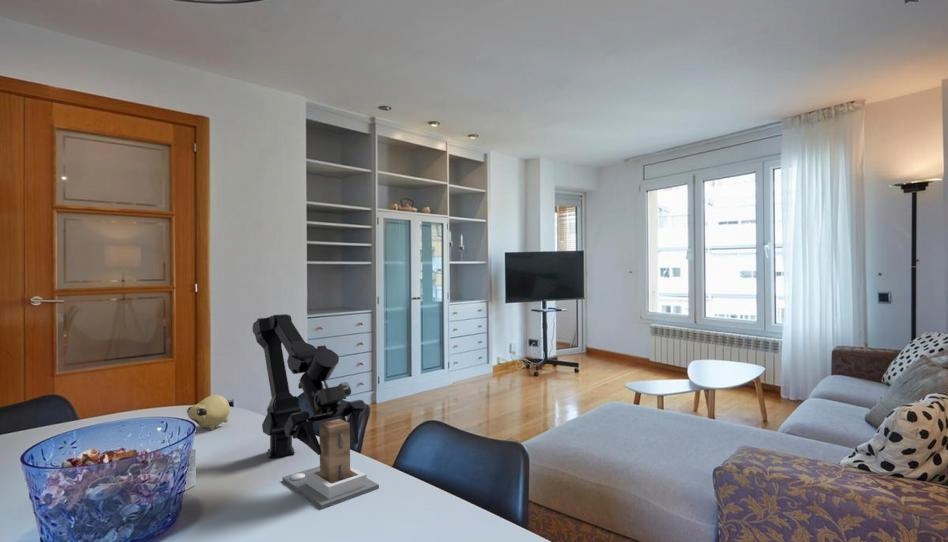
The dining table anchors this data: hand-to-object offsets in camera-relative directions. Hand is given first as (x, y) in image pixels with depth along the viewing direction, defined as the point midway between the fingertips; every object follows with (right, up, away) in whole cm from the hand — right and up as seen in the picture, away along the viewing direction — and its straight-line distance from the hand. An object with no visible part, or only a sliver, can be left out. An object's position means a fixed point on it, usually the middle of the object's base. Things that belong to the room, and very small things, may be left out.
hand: (339, 448), depth 106 cm
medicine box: (-38, -10, +1) cm, 40 cm away
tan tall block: (-1, -9, +1) cm, 9 cm away
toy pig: (-56, -11, +46) cm, 73 cm away
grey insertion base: (-3, -9, +3) cm, 10 cm away
